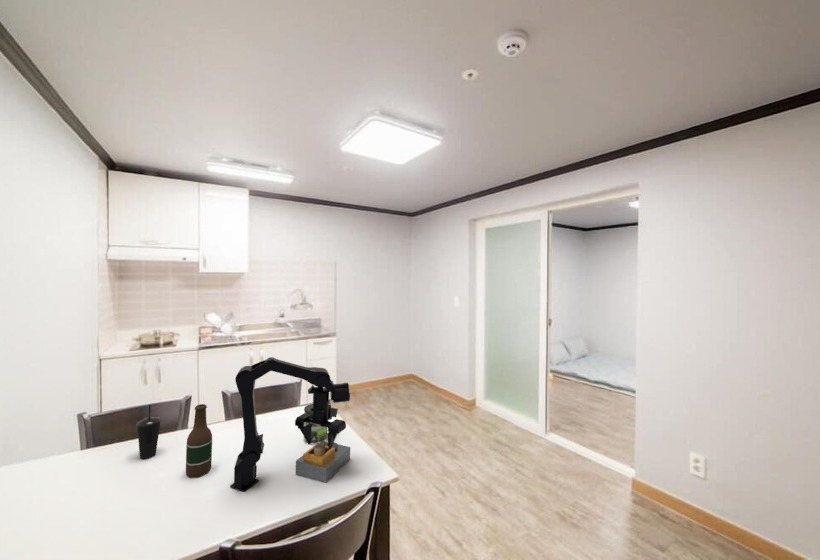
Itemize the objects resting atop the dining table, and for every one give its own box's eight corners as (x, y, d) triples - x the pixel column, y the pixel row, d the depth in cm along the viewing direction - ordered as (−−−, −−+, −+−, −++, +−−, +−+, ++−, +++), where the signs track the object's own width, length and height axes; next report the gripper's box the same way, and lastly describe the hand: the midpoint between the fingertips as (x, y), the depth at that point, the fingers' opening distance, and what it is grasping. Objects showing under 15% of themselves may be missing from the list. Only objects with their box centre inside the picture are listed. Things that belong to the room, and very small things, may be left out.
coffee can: (332, 438, 144) (333, 406, 144) (312, 447, 136) (313, 413, 136) (317, 431, 150) (318, 401, 150) (298, 439, 142) (299, 407, 142)
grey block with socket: (325, 483, 111) (326, 461, 111) (295, 474, 116) (296, 453, 116) (350, 459, 126) (350, 440, 126) (322, 453, 131) (322, 434, 131)
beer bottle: (198, 480, 112) (200, 410, 112) (179, 476, 113) (182, 408, 114) (216, 467, 119) (218, 402, 120) (198, 464, 121) (200, 400, 121)
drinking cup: (165, 451, 129) (167, 401, 130) (148, 462, 122) (149, 409, 122) (147, 450, 130) (149, 400, 130) (129, 460, 122) (131, 408, 123)
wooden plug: (320, 475, 116) (321, 450, 116) (311, 473, 117) (311, 448, 117) (326, 469, 119) (327, 445, 120) (317, 467, 121) (318, 443, 121)
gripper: (354, 400, 123) (353, 441, 123) (313, 393, 130) (312, 432, 129) (337, 410, 113) (336, 455, 112) (294, 402, 119) (293, 445, 119)
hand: (319, 446), depth 118 cm, fingers open, 9 cm apart
